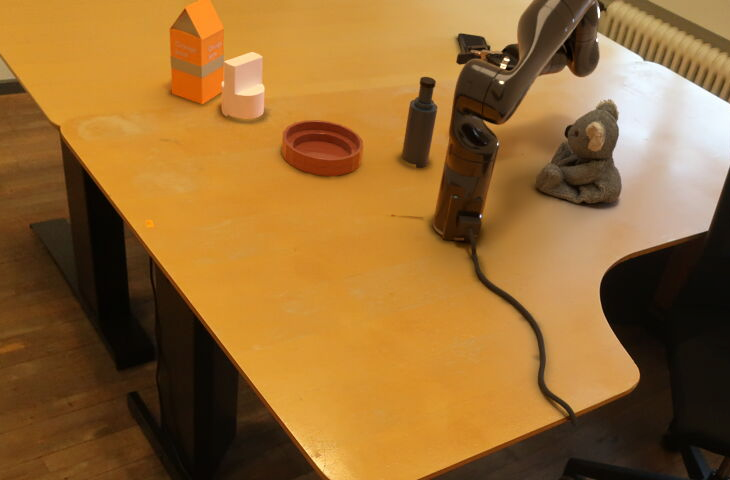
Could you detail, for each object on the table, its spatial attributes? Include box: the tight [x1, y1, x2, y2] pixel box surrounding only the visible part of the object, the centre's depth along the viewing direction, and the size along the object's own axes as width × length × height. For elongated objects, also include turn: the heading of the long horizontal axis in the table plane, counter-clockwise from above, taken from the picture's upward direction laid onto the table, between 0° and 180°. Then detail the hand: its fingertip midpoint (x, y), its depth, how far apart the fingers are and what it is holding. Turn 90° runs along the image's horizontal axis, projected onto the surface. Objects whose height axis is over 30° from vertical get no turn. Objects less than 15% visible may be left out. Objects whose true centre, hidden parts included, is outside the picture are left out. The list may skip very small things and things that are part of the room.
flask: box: [401, 76, 438, 169], centre depth 176 cm, size 6×6×18 cm
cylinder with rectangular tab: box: [221, 51, 266, 120], centre depth 180 cm, size 9×9×12 cm
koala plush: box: [535, 98, 623, 204], centre depth 180 cm, size 17×18×20 cm
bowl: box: [281, 119, 364, 177], centre depth 173 cm, size 16×16×4 cm
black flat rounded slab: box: [457, 32, 488, 62], centre depth 235 cm, size 8×1×15 cm
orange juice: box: [169, 0, 225, 105], centre depth 180 cm, size 8×9×20 cm
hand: (470, 67), depth 175 cm, fingers open, 8 cm apart
